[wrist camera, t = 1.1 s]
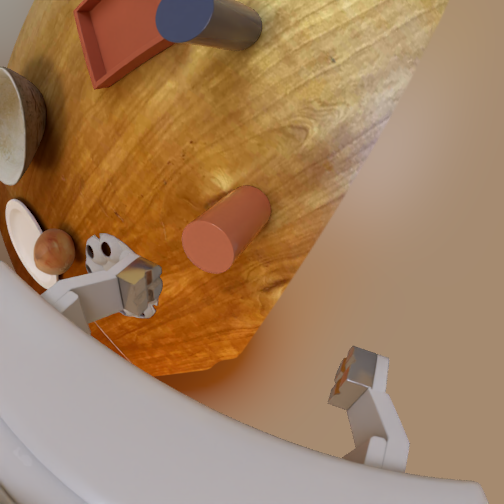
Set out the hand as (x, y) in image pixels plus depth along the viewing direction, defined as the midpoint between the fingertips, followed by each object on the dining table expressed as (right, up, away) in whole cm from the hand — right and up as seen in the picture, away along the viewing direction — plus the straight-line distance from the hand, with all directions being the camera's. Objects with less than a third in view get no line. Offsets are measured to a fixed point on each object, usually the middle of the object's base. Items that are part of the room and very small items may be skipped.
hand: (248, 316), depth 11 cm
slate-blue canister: (-1, +26, +14) cm, 29 cm away
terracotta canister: (0, +8, +24) cm, 26 cm away
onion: (-39, +5, +46) cm, 60 cm away
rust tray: (-16, +33, +16) cm, 40 cm away
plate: (-60, +5, +56) cm, 82 cm away
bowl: (-43, +30, +32) cm, 61 cm away
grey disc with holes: (-26, -3, +44) cm, 51 cm away
